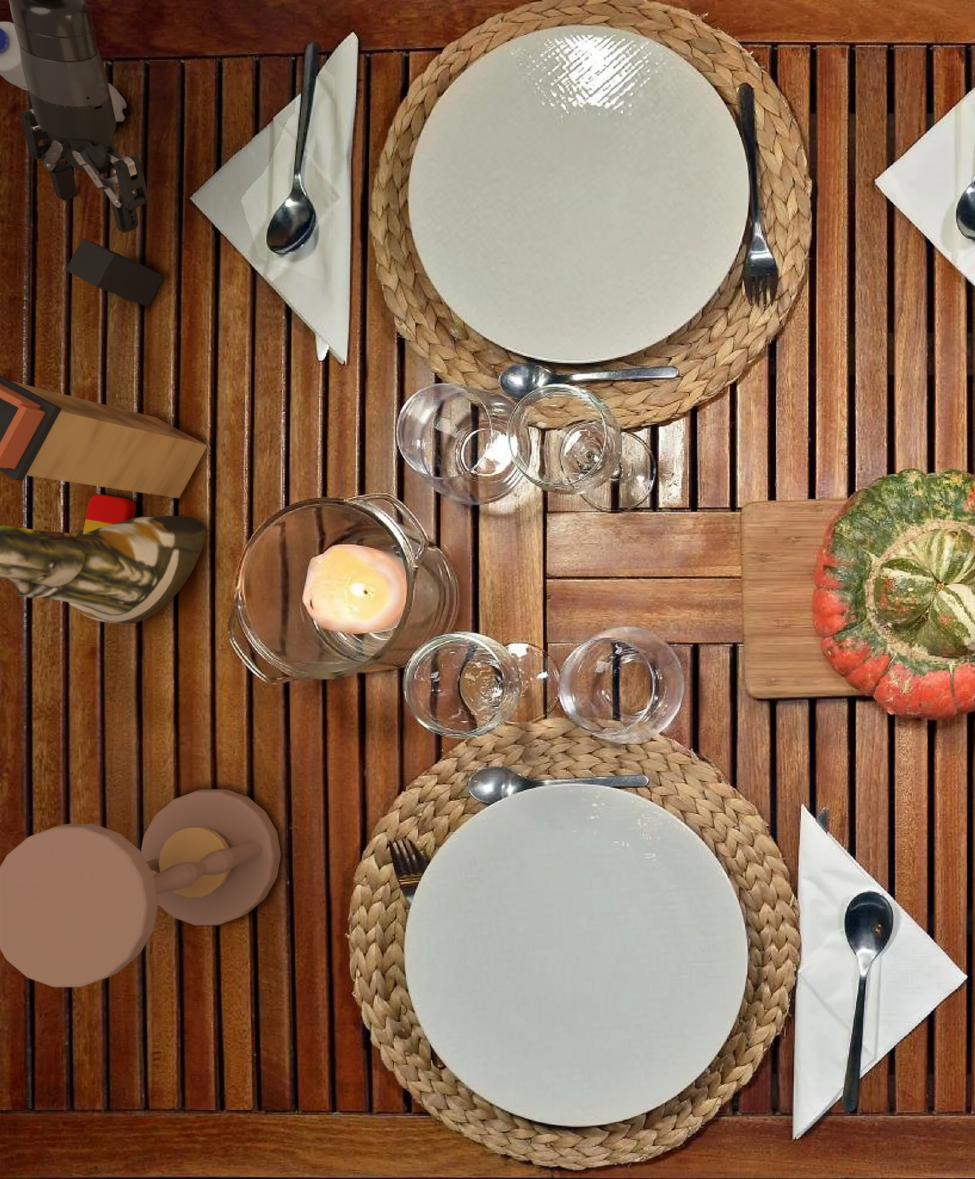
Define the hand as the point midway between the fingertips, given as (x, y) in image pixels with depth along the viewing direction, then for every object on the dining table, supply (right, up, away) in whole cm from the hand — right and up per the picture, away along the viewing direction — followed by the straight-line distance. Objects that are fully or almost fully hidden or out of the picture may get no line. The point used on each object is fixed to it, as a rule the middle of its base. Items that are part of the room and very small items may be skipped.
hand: (98, 213), depth 131 cm
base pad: (+1, -28, -14) cm, 32 cm away
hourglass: (+8, -81, +10) cm, 82 cm away
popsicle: (-6, -41, +11) cm, 43 cm away
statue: (+1, -44, +11) cm, 45 cm away
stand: (+1, -29, +11) cm, 31 cm away
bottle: (-7, +18, +12) cm, 23 cm away
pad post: (-2, -5, +11) cm, 13 cm away
